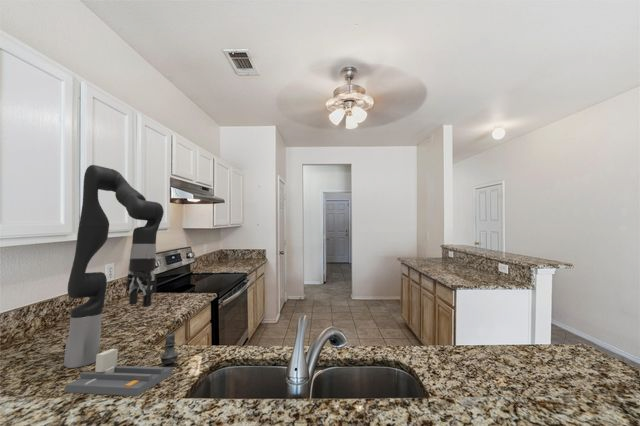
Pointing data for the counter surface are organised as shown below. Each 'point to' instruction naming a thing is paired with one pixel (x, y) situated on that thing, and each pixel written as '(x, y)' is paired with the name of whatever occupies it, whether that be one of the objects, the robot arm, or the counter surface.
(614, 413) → the counter surface
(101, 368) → the fader tab
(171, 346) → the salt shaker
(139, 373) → the fader console
